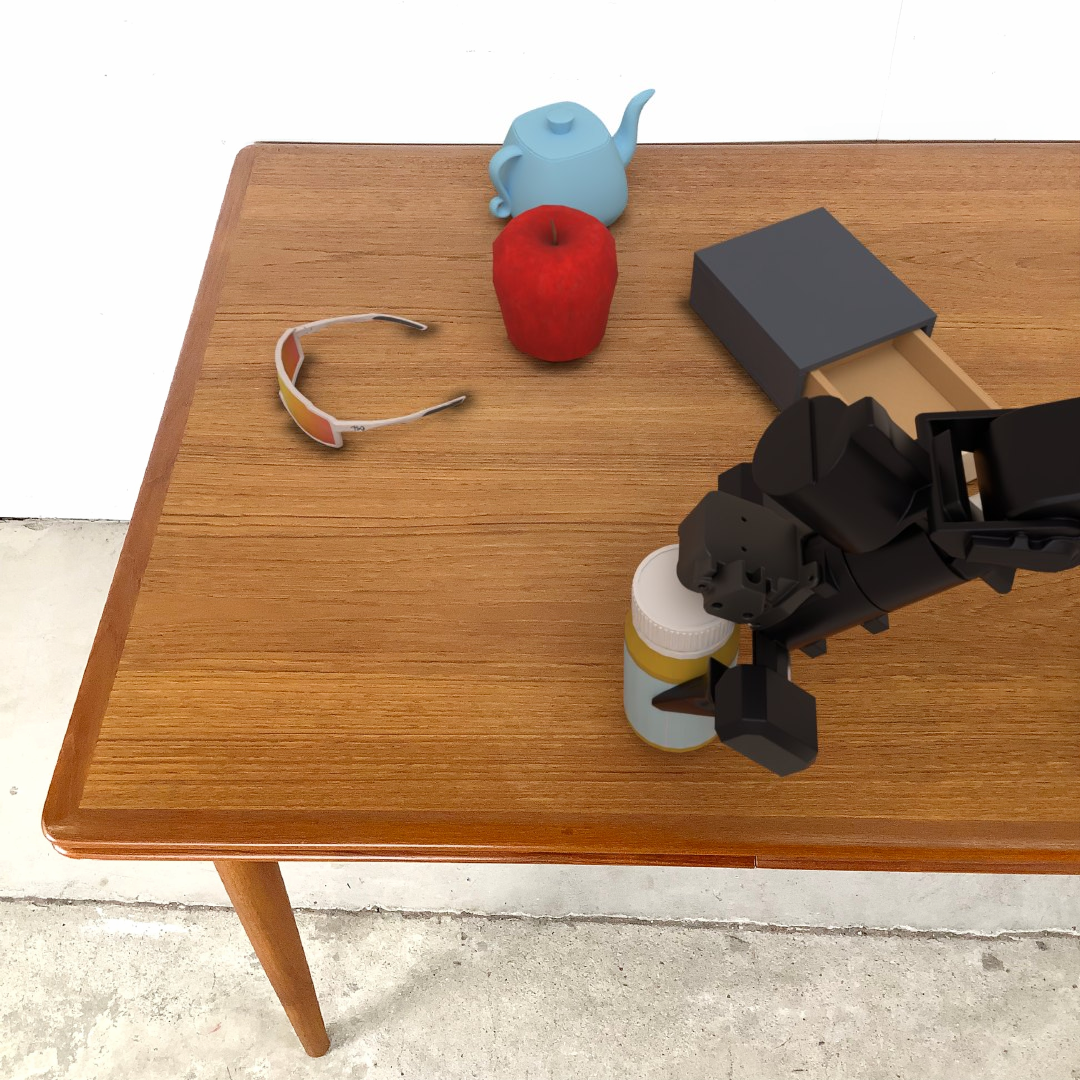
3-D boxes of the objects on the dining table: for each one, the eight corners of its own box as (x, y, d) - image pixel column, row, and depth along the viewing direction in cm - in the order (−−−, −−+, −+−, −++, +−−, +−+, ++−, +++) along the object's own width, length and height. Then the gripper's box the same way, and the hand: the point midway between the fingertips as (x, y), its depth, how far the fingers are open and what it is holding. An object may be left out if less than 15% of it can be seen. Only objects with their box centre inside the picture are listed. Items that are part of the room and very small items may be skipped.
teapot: (689, 115, 104) (514, 173, 99) (681, 212, 112) (520, 269, 108) (621, 52, 111) (455, 104, 106) (618, 147, 119) (465, 199, 115)
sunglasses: (260, 363, 101) (255, 319, 97) (419, 332, 106) (420, 289, 102) (304, 472, 93) (301, 428, 89) (473, 432, 98) (477, 390, 94)
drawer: (1051, 497, 88) (1070, 461, 84) (922, 555, 85) (936, 520, 82) (897, 343, 99) (908, 305, 95) (778, 390, 96) (785, 353, 92)
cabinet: (920, 368, 98) (938, 315, 93) (788, 421, 95) (799, 369, 90) (812, 259, 107) (823, 206, 102) (688, 304, 104) (693, 251, 99)
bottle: (619, 751, 75) (619, 633, 62) (628, 660, 79) (630, 532, 67) (725, 762, 74) (746, 644, 62) (729, 669, 78) (749, 541, 66)
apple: (499, 387, 98) (488, 264, 88) (498, 309, 105) (487, 184, 94) (619, 382, 98) (623, 258, 87) (611, 303, 104) (614, 178, 94)
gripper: (773, 360, 62) (578, 478, 72) (781, 647, 51) (549, 740, 61) (890, 461, 68) (694, 558, 78) (920, 740, 57) (687, 811, 67)
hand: (658, 655), depth 71 cm, fingers closed on bottle, 7 cm apart
